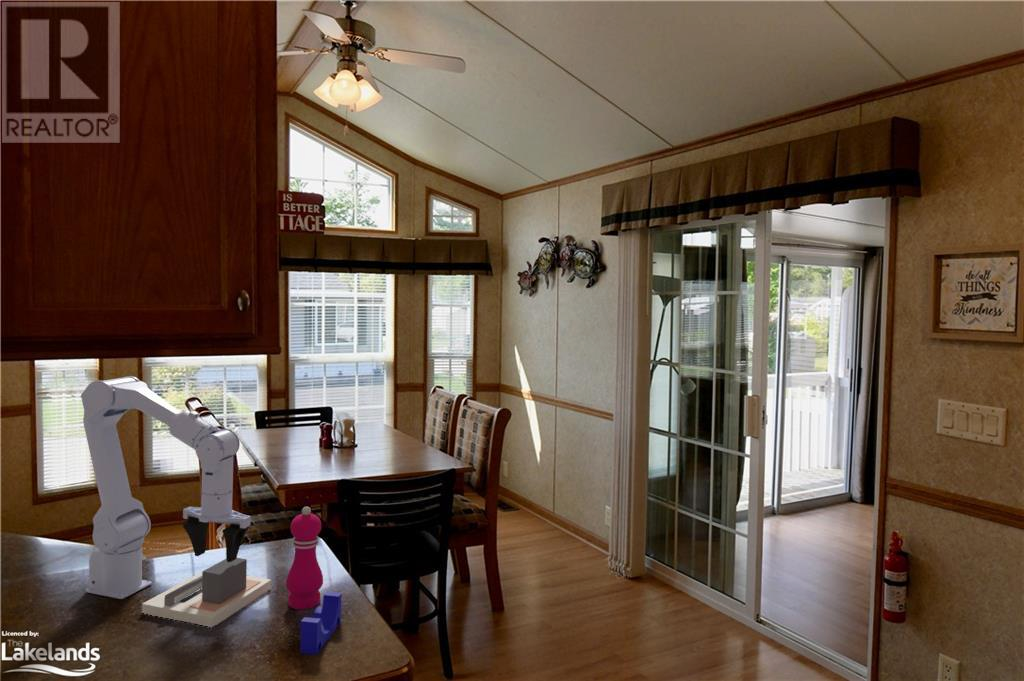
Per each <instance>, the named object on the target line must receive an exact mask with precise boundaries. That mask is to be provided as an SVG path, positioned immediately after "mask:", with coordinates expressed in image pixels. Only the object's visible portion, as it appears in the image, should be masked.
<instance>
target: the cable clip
mask: <svg viewBox="0 0 1024 681" xmlns="http://www.w3.org/2000/svg"><path fill="white" fill-rule="evenodd" d="M341 623H342V592H337V591H335V592H333V591H326V592H325V593H323V600H322V606H321V605H317V607H316V609H315V610H314V611H313V613H312V616H311V617H307V616H306V617H303V618H302V619H301V621H300V643H299V644H300V650H299V651H300V652H299V654H302V655H303V654H305V655H314V656H315V655H316V656H317V655H318V654H319V653H320V651H321V650H322V648H323V647H324V645H326V644H327V642H328V641H329V639H330V637H331V636H332V634H334V632H335V631H336V629H337V628H338V626H339V625H340V624H341Z"/></svg>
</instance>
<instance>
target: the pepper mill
mask: <svg viewBox="0 0 1024 681" xmlns="http://www.w3.org/2000/svg"><path fill="white" fill-rule="evenodd" d="M311 512H312V509H311V507H309V506H304V507H303V508H302V509H301V513H300V514H298V515H296V516H295V517H294V518H293V519H292V520H291V523H290V532H291V533H290V534H291V535H292V536H293V538H292V546H293V547H294V556H293V557H294V558H293V561H292V564H291V567H290V568H289V571H288V574H287V576H286V582H285V583H286V584H285V587H286V589H287V591H288V592H290V593H288V598H287V600H288V602H287V605H288V607H290V608H291V609H295V610H308V609H312V608H315V607H316V606H319V605H320V602H321V591H319V590H320V589H321V587H323V584H324V575H323V572H322V570H321V567H320V565H319V562H318V558H317V546H318V545H319V536H318V535H319V534H320V532H321V530H322V522H321V519H320V517H319V516H318V515H316V514H314V513H311Z"/></svg>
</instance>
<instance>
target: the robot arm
mask: <svg viewBox="0 0 1024 681" xmlns="http://www.w3.org/2000/svg"><path fill="white" fill-rule="evenodd" d="M80 397H81V402H82V406H83V410H84V411H83V418H82V419H83V420H82V422H83V428H84V432H85V437H86V440H87V445H88V450H89V454H90V458H91V463H92V468H93V472H94V477H95V480H96V486H97V491H98V494H99V499H100V504H101V505H100V507H99V509H98V510H97V512H96V513H95V515H94V516H93V518H92V522H93V531H92V540H93V544H94V545H95V548H94V550H92V552H91V554H90V556H89V559H88V560H89V561H88V588H86V589H85V593H88V594H92V595H93V594H94V595H98V596H104V597H109V598H113V599H118V600H124V599H126V598H127V597H129V596H131V595H133V594H134V593H136V592H140V590H142V589H145V588H147V587H149V586H150V585H152V584H153V582H152V581H150V580H146V579H143V543H145V537H146V536H148V534H149V533H150V531H151V527H152V526H151V525H152V524H151V519H150V517H149V515H148V513H146V511H145V509H144V504H143V502H142V501H140V500H139V499H136V498H135V497H132V491H131V487H130V484H129V478H128V473H127V469H126V464H125V459H124V456H123V450H122V447H121V446H122V445H121V440H120V438H119V432H118V429H117V424H118V422H120V420H121V419H122V417H123V415H124V414H126V413H127V412H128V411H130V410H133V409H134V410H135V409H136V410H139V411H141V412H142V413H143V414H145V415H148V416H150V417H151V418H153V419H155V420H157V421H158V422H160V423H163V424H164V425H166V426H168V430H169V434H170V435H171V436H172V437H174V438H176V439H177V440H179V441H180V442H182V443H184V444H185V445H187V446H188V447H190V448H192V449H193V450H194V451H195V454H196V457H197V459H198V460H199V462H200V469H201V493H200V494H201V495H200V498H201V500H200V502H201V503H200V507H198V506H196V507H195V506H187V507H185V508H183V511H182V518H183V519H185V520H186V521H185V522H183V523H182V528H183V529H184V530H185V532H186V533H187V535H188V537H189V538H188V539H189V540H190V542H191V545H192V549H193V553H194V556H195V557H199V556H202V555H203V554H205V553H206V548H207V536H208V535H207V534H208V529H209V524H210V523H211V522H212V523H216V524H222V525H228V527H226V528H224V529H222V535H223V537H224V541H225V559H227V562H232V561H233V560H235V559H236V558H238V553H239V550H240V547H241V544H242V542H243V539H244V537H245V536H246V534H247V532H248V530H249V529H250V526H251V521H252V520H251V518H252V517H251V515H247V514H243V513H241V512H239V511H235V510H233V492H234V491H233V490H234V488H233V487H234V485H233V483H234V456H235V455H236V454H237V453H238V451H239V449H240V439H239V437H238V434H236V433H235V432H234V431H233V429H231V428H219V427H218V425H216V424H212V423H210V422H208V421H207V420H205V419H203V418H202V417H200V416H199V415H200V413H199V412H198V411H195V410H193V411H191V410H184V411H180V410H178V408H175V407H174V406H173V405H171V404H170V403H169V402H167V401H166V400H165V399H163V398H161V397H160V396H159V395H157V394H156V392H153V390H150V389H149V386H148V384H147V383H146V382H144V381H142V380H140V379H139V378H138V377H136V376H134V375H133V376H132V375H127V376H123V377H119V378H118V377H117V378H111V379H106V380H94V381H91V382H90V383H89V384H87V386H86V388H85V389H84V390H83V391H82V392H81V394H80Z"/></svg>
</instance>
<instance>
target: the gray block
mask: <svg viewBox="0 0 1024 681" xmlns="http://www.w3.org/2000/svg"><path fill="white" fill-rule="evenodd" d="M247 563H248V562H247V558H241V557H237V558H236V559H235V560H233V561H232V562H227V559H226V558H224V559H222V560H221V561H219V562H217V563H215V564H213V565H211V566H210V567H208V568H206V569H204V570H203V571H201V572H202V590H201V593H202V601H203V602H208V603H214V604H219V605H220V604H221V603H223V602H224V601H226V600H228V599H229V598H231V597H232V596H234V595H236V594H237V593H239V592H240V591H242V590H244V589H245V588H246V575H247V570H248V569H247V567H248V566H247Z"/></svg>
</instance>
